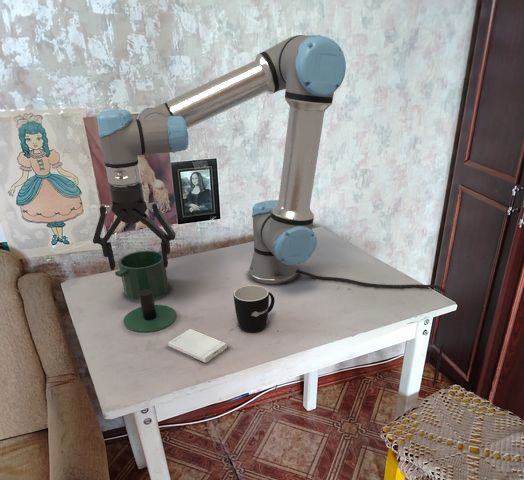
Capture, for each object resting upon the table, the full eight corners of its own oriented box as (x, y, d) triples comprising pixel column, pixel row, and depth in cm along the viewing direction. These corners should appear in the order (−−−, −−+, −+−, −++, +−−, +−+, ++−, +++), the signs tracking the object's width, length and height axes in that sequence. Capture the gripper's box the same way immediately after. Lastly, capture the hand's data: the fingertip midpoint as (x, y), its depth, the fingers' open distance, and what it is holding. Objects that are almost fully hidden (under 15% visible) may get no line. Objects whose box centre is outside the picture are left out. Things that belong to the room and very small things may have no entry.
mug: (250, 339, 127) (248, 304, 121) (229, 326, 132) (226, 292, 127) (285, 323, 133) (284, 289, 127) (263, 311, 139) (262, 278, 133)
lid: (187, 316, 137) (183, 288, 133) (149, 340, 128) (144, 310, 123) (151, 303, 145) (146, 276, 140) (113, 325, 135) (106, 296, 130)
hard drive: (167, 342, 124) (204, 358, 118) (190, 328, 129) (226, 342, 123) (168, 347, 125) (205, 363, 118) (191, 333, 130) (227, 347, 124)
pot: (183, 284, 154) (179, 253, 148) (139, 309, 142) (132, 276, 136) (154, 275, 161) (149, 244, 155) (109, 298, 148) (102, 265, 143)
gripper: (67, 190, 113) (87, 275, 125) (177, 185, 114) (187, 270, 126) (75, 181, 119) (94, 263, 131) (179, 176, 120) (188, 258, 132)
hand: (139, 266), depth 129 cm, fingers open, 13 cm apart
